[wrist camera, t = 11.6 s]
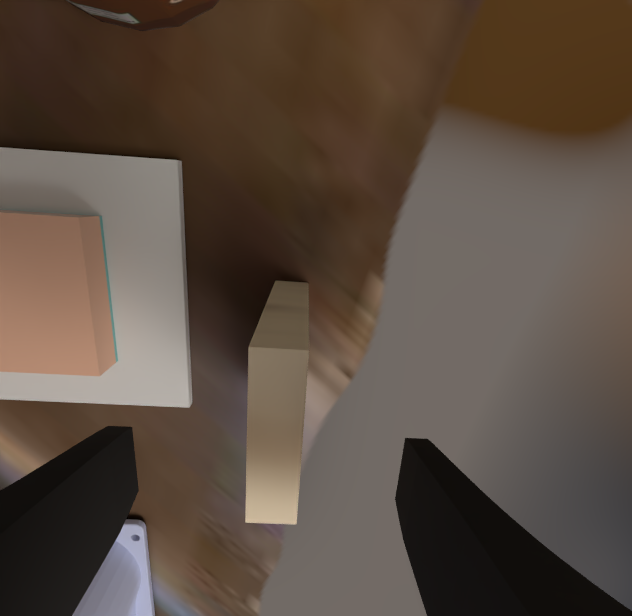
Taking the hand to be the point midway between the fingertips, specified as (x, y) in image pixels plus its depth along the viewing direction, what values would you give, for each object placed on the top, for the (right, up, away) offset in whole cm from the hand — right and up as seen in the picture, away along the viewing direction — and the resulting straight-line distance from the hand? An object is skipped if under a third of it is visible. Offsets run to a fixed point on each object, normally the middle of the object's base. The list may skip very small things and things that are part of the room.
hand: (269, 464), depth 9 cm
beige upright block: (0, +3, +8) cm, 9 cm away
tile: (-8, +5, +6) cm, 11 cm away
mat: (-11, +5, +7) cm, 14 cm away
